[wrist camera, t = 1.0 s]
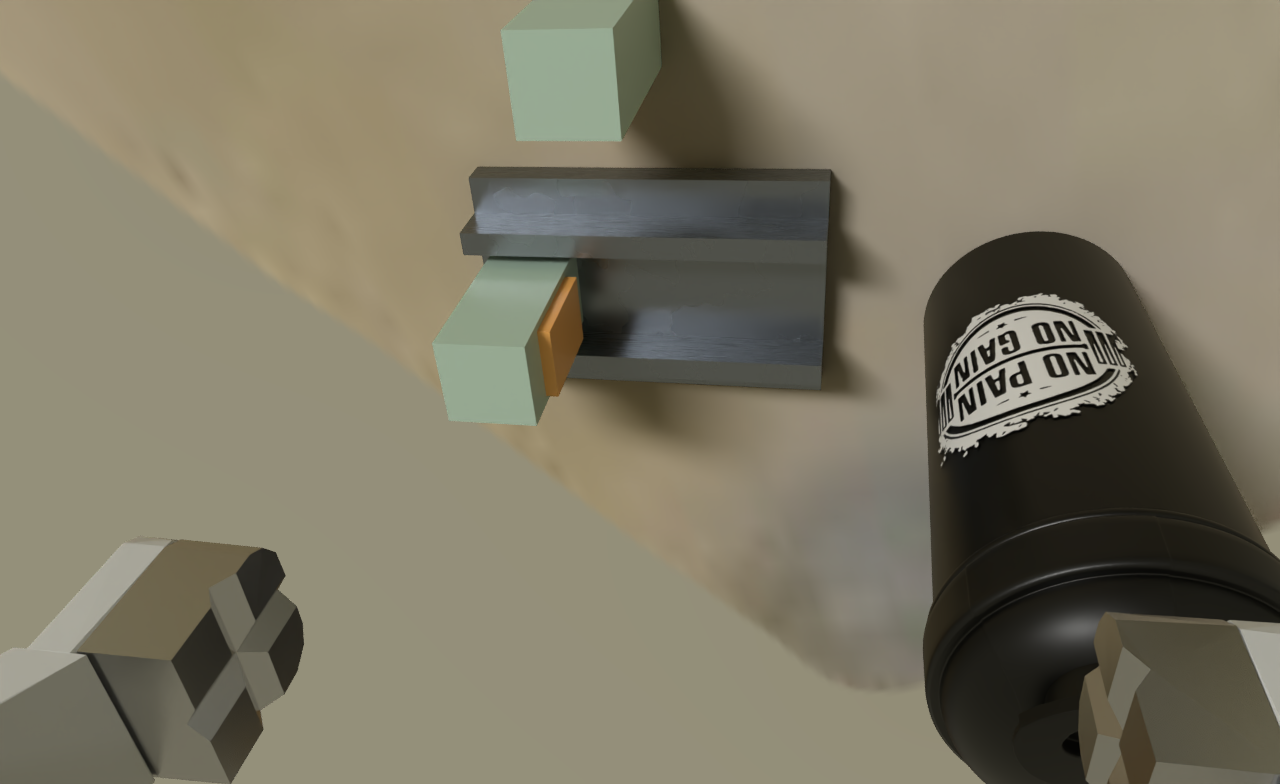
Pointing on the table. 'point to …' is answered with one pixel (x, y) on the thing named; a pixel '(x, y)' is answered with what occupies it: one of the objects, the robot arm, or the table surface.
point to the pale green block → (580, 67)
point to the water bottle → (1061, 498)
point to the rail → (675, 265)
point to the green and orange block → (511, 340)
